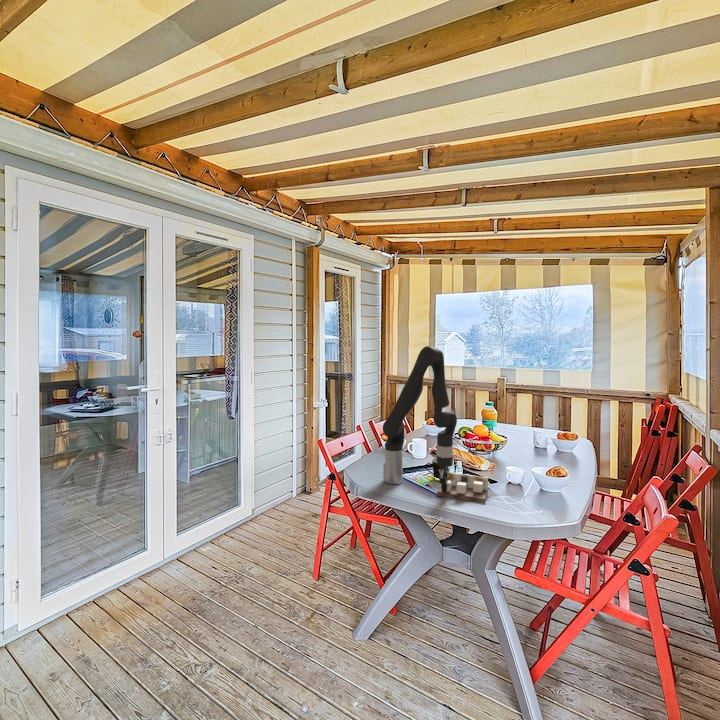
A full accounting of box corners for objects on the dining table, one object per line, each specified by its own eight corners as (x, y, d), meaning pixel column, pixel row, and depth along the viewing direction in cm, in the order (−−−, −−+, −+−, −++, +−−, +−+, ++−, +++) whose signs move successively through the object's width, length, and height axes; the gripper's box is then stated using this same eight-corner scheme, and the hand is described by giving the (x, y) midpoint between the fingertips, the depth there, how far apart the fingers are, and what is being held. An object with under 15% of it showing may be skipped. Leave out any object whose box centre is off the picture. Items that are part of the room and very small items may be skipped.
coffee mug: (449, 477, 222) (449, 459, 221) (446, 482, 214) (446, 463, 213) (428, 474, 226) (428, 456, 226) (424, 479, 218) (424, 461, 218)
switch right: (473, 491, 196) (473, 483, 195) (474, 488, 199) (474, 480, 199) (481, 492, 194) (482, 484, 194) (482, 489, 198) (483, 481, 197)
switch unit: (436, 495, 197) (437, 479, 196) (442, 487, 208) (442, 471, 207) (484, 503, 188) (485, 485, 188) (487, 493, 199) (488, 477, 199)
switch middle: (456, 492, 194) (456, 484, 194) (457, 489, 198) (458, 481, 198) (465, 494, 193) (465, 485, 192) (466, 491, 196) (466, 482, 196)
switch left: (441, 490, 197) (441, 482, 197) (443, 487, 201) (443, 479, 200) (450, 491, 195) (450, 483, 195) (451, 488, 199) (451, 480, 199)
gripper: (439, 450, 200) (439, 485, 201) (433, 457, 188) (432, 494, 189) (455, 451, 197) (455, 487, 198) (449, 459, 185) (449, 497, 186)
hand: (444, 490), depth 194 cm, fingers closed
